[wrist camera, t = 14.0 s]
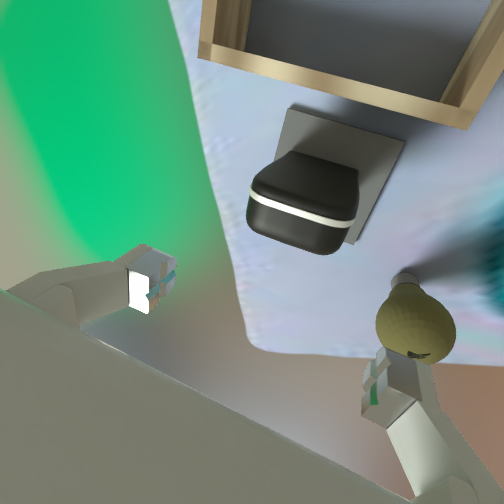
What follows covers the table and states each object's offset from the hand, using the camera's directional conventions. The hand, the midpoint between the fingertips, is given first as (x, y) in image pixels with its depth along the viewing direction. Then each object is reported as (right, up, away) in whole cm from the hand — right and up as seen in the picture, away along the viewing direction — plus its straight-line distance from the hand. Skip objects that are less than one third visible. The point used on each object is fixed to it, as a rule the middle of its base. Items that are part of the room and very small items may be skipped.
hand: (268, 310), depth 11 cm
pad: (+6, +9, +16) cm, 19 cm away
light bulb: (+15, -1, +18) cm, 23 cm away
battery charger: (+6, +9, +16) cm, 19 cm away
